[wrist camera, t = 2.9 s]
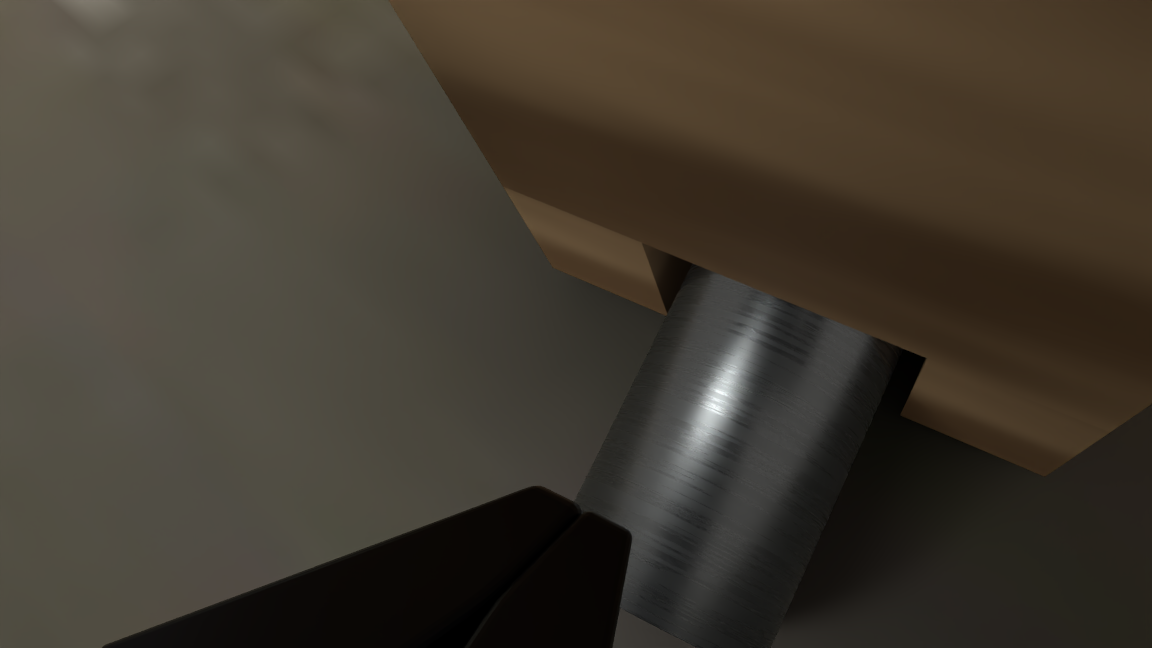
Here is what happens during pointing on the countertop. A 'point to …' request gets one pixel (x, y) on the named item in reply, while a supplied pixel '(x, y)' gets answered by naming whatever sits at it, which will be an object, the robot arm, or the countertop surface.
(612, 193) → the rectangular wooden block
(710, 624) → the steel pipe
